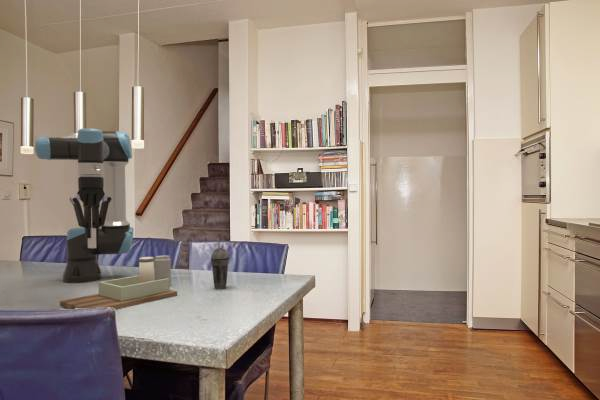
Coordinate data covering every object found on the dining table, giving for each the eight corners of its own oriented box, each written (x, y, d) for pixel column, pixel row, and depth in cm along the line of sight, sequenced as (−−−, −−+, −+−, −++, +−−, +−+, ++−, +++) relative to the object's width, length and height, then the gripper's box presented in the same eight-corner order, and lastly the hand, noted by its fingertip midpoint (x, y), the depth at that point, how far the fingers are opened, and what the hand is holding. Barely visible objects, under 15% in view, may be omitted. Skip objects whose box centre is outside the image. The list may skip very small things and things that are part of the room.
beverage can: (166, 287, 169) (165, 257, 169) (151, 287, 170) (150, 257, 170) (173, 284, 175) (173, 255, 175) (159, 283, 176) (159, 254, 176)
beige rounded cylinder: (136, 290, 156) (136, 258, 156) (148, 288, 160) (148, 256, 160) (144, 292, 153) (144, 259, 153) (156, 290, 157) (156, 257, 157)
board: (59, 305, 142) (59, 296, 142) (145, 288, 168) (145, 280, 168) (89, 315, 130) (89, 305, 130) (177, 295, 155) (177, 287, 155)
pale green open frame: (98, 294, 150) (98, 282, 150) (145, 285, 165) (145, 274, 165) (121, 301, 141) (121, 287, 141) (169, 290, 156) (169, 278, 156)
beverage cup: (233, 286, 170) (232, 236, 170) (223, 290, 163) (223, 238, 163) (216, 285, 172) (216, 235, 172) (207, 289, 166) (206, 237, 165)
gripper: (76, 175, 133) (77, 251, 134) (115, 176, 143) (116, 246, 144) (65, 176, 138) (66, 249, 138) (104, 176, 148) (105, 244, 149)
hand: (92, 247), depth 141 cm, fingers closed
